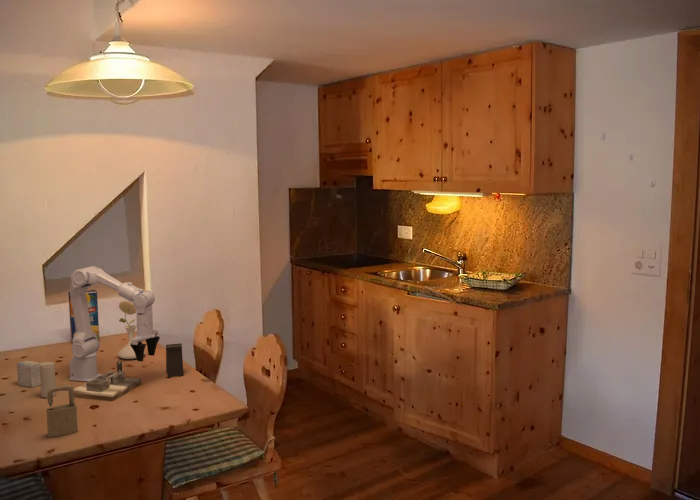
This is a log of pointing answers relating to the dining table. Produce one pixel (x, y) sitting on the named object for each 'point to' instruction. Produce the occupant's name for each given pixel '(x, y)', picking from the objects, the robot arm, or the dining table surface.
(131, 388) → the door and jamb
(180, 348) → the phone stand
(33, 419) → the dining table surface
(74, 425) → the padlock
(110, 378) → the bolt
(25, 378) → the grey upright block
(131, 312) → the flower in vase
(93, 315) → the juice carton
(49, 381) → the beige cylinder
